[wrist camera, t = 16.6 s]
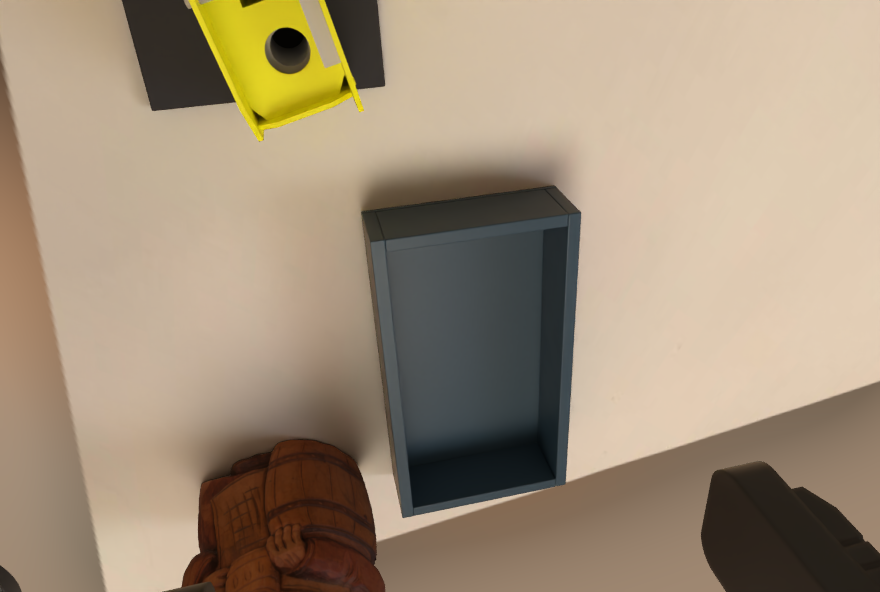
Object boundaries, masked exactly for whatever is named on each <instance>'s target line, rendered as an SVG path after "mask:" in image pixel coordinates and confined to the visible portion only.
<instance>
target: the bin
mask: <svg viewBox="0 0 880 592" xmlns="http://www.w3.org/2000/svg"><path fill="white" fill-rule="evenodd" d="M361 214H362V222H363V230H364V238H365V247H366V255H367V263H368V271H369V279H370V287H371V295H372V304H373V312H374V320H375V328H376V336H377V344H378V353H379V361H380V369H381V377H382V385H383V393H384V402H385V410H386V418H387V426H388V434H389V442H390V451H391V459H392V467H393V475H394V480H395V484H396V489H397V494H398V498H399V503H400V508H401V513H402V517H403V518H406V517H411V516H414V515H420V514H425V513H430V512H434V511H439V510H444V509H449V508H454V507H459V506H464V505H468V504H473V503H478V502H483V501H488V500H493V499H498V498H502V497H507V496H512V495H517V494H522V493H527V492H532V491H536V490H541V489H546V488H551V487H555V486H560V485H564V484H566V466H567V449H568V432H569V415H570V397H571V380H572V363H573V345H574V328H575V311H576V294H577V276H578V259H579V242H580V224H581V212H580V211H579V210H578V209H577V208H576V207H575V206H574V205H573V204H572V203H571V202H570V201H569V200H568V199H567V198H566V197H565V196H564V195H563V194H562V193H561V192H560V191H559V190H558V189H557V187H556V186H549V187H541V188H534V189H526V190H519V191H512V192H504V193H497V194H489V195H482V196H474V197H467V198H459V199H452V200H444V201H437V202H429V203H422V204H414V205H407V206H399V207H392V208H384V209H377V210H370V211H362V212H361Z"/></svg>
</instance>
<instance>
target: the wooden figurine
mask: <svg viewBox="0 0 880 592" xmlns="http://www.w3.org/2000/svg"><path fill="white" fill-rule="evenodd" d="M198 541H199V548H200V554H198V555H196V556H195V557H194V558H193V559H192V560H191V562H190V564H189V565H188V567H187V569H186V571H185V573H184V576H183V581H182V587H186V586H191V585H195V584H200V583H204V582H211V583H212V585H213V587H214V589H215V592H385V584H384V581H383V579H382V577H381V575H380V573H379V571H378V569H377V568H376V567H375V566H374V564H375V560H376V555H377V554H376V553H377V550H376V547H377V546H376V534H375V525H374V519H373V514H372V508H371V504H370V501H369V497H368V493H367V490H366V487H365V483H364V481H363V478H362V475H361V472H360V470H359V467H358V465H357V463H356V462H355V461H354V459H352V458H351V457H350V456H348V455H346V454H344V453H343V452H341V451H340V450H339V449H337V448H336V447H334V446H332V445H328V444H323V443H321V442H318V441H313V440H288V441H284V442H280V443H278V444H277V445H276V446H275V448H274V449H273V451H272V452H270V453H266V454H258V455H255V456H253V457H251V458H248V459H244V460H241V461H238V462H236V463H235V464H234V465H233V467H232V469H231V474H230V476H227V477H221V478H218V479H214V480H209V481H207V482H204V483H202V485H201V489H200V496H199V514H198ZM182 587H181V588H182Z"/></svg>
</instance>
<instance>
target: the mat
mask: <svg viewBox="0 0 880 592" xmlns="http://www.w3.org/2000/svg"><path fill="white" fill-rule="evenodd" d="M122 2H123V6H124V9H125V13H126V17H127V20H128V24H129V28H130V31H131V35H132V39H133V43H134V46H135V50H136V54H137V57H138V61H139V65H140V68H141V72H142V76H143V79H144V83H145V87H146V90H147V94H148V98H149V101H150V105H151V109H152V111H156V110H166V109H175V108H185V107H194V106H204V105H213V104H223V103H232V102H236V101H235V99H234V97H233V95H232V93H231V90H230V88H229V86H228V84H227V82H226V80H225V78H224V75H223V73H222V71H221V69H220V67H219V65H218V63H217V60H216V58H215V56H214V54H213V52H212V50H211V48H210V46H209V43H208V41H207V39H206V37H205V35H204V33H203V31H202V28H201V26H200V24H199V22H198V20H197V18H196V16H195V13H194V11H193V9H192V8H191V9H188V8H187V6H186V4H185V2H184V0H122ZM325 3H326V6H327V8H328V11H329V14H330V17H331V19H332V22H333V25H334V28H335V30H336V33H337V36H338V39H339V41H340V44H341V47H342V50H343V52H344V55H345V58H346V61H347V63H348V66H349V69H350V72H351V74H352V76H353V77H354V80H355V82H356V85H355V86H356V89H365V88H374V87H383V86H385V80H384V70H383V59H382V48H381V38H380V27H379V16H378V5H377V0H325ZM303 38H304V35H303V34H302V33H301V32H299V31H298V30H295V29H293V28H288V27H285V28H280V29H278V30H277V31H275V32H274V34H273V35H272V39H273V40H274V41H275V43H276V44H278V45H279V46H281V47H283V48H294V47H296V46H298V45H299V44H300V43H301V42H302V40H303Z"/></svg>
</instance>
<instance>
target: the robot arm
mask: <svg viewBox="0 0 880 592" xmlns="http://www.w3.org/2000/svg"><path fill="white" fill-rule="evenodd" d="M701 540H702V546H703V550H704V554H705V556H706V559H707V561H708V564H709V566H710V568H711V570H712V571H713V573H714V574H715V576H716V577H717V579H718V580H719V582H720V583H721V585H722V586H723V588H724V589H725V591H726V592H880V553H879V552H878V551H877V550H876V549H875V548H874V547H873V546H872V545H871V544H870V543H869V542H865V541H864V539H863V535H862V534H861V533H860V532H859V531H858V530H857V529H856V528H855V527H854V526H853V525H852V524H851V523H850V522H849V521H848V520H847V519H846V517H845V516H844V515H843V514H842V513H841V512H840V511H839V510H838V509H837V508H836V507H834V506H832V505H831V504H829V503H828V502H826V501H825V500H823V499H821V498H820V497H818V496H816V495H815V494H813V493H811V492H810V491H808V490H807V489H805V488H804V487H799V488H794V489H791V488H790V487H789V486H788V485H787V484H786V482H785V481H784V480H783V479H782V478H781V477H780V476H779V475H778V474H777V472H776V471H775V470H774V469H773V468H772V467H771V466H769V465H768V464H767V463H765V462H762V461H756V462H752V463H747V464H743V465H738V466H734V467H729V468H725V469H720V470H717V471H715V472H714V473H713V475H712V479H711V483H710V489H709V494H708V499H707V504H706V510H705V515H704V520H703V525H702V532H701ZM164 592H215V589H214V587H213V585H212V583H211V582H204V583H200V584H195V585H191V586H186V587H182V588H177V589H173V590H168V591H164Z"/></svg>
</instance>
